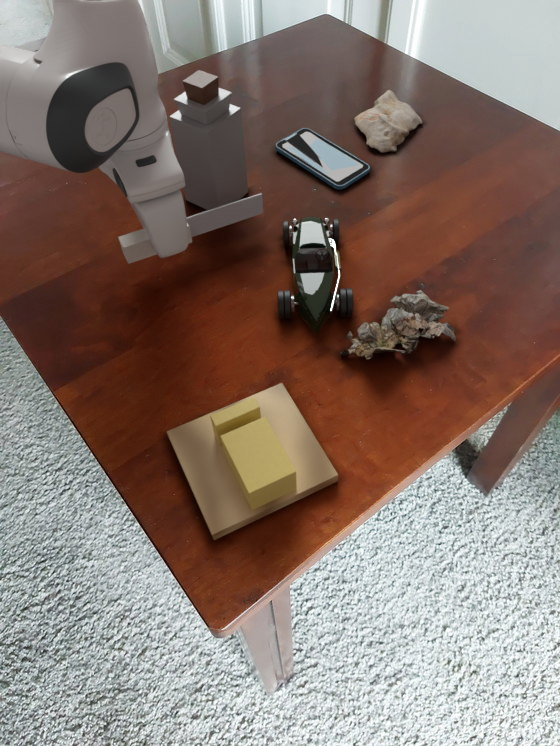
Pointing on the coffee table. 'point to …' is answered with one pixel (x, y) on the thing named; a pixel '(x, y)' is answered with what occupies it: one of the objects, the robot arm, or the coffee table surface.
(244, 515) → the butter board
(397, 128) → the stone
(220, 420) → the butter slice
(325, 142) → the smartphone
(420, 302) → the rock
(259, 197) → the knife
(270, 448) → the butter
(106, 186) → the coffee table surface
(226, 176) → the perfume bottle
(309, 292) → the toy car
